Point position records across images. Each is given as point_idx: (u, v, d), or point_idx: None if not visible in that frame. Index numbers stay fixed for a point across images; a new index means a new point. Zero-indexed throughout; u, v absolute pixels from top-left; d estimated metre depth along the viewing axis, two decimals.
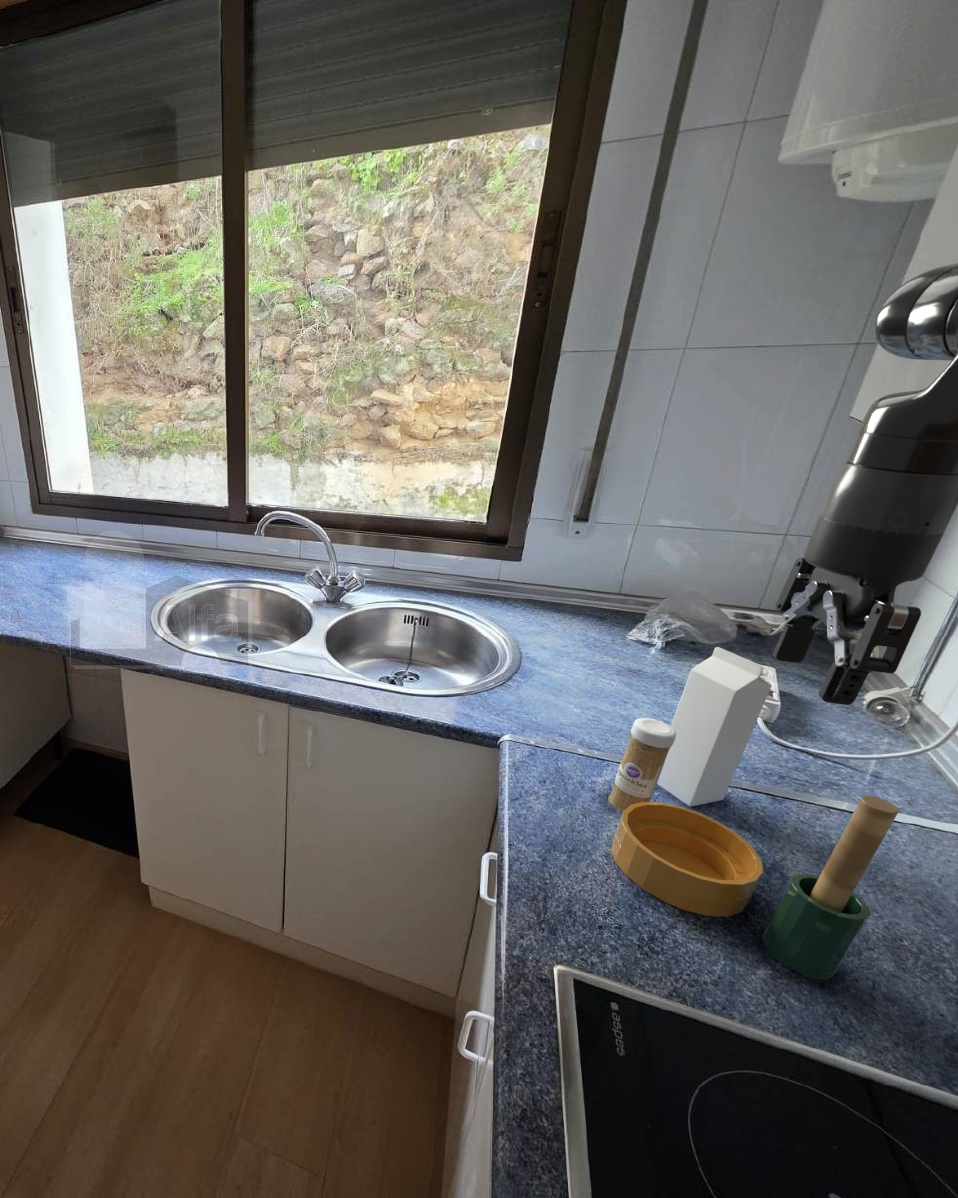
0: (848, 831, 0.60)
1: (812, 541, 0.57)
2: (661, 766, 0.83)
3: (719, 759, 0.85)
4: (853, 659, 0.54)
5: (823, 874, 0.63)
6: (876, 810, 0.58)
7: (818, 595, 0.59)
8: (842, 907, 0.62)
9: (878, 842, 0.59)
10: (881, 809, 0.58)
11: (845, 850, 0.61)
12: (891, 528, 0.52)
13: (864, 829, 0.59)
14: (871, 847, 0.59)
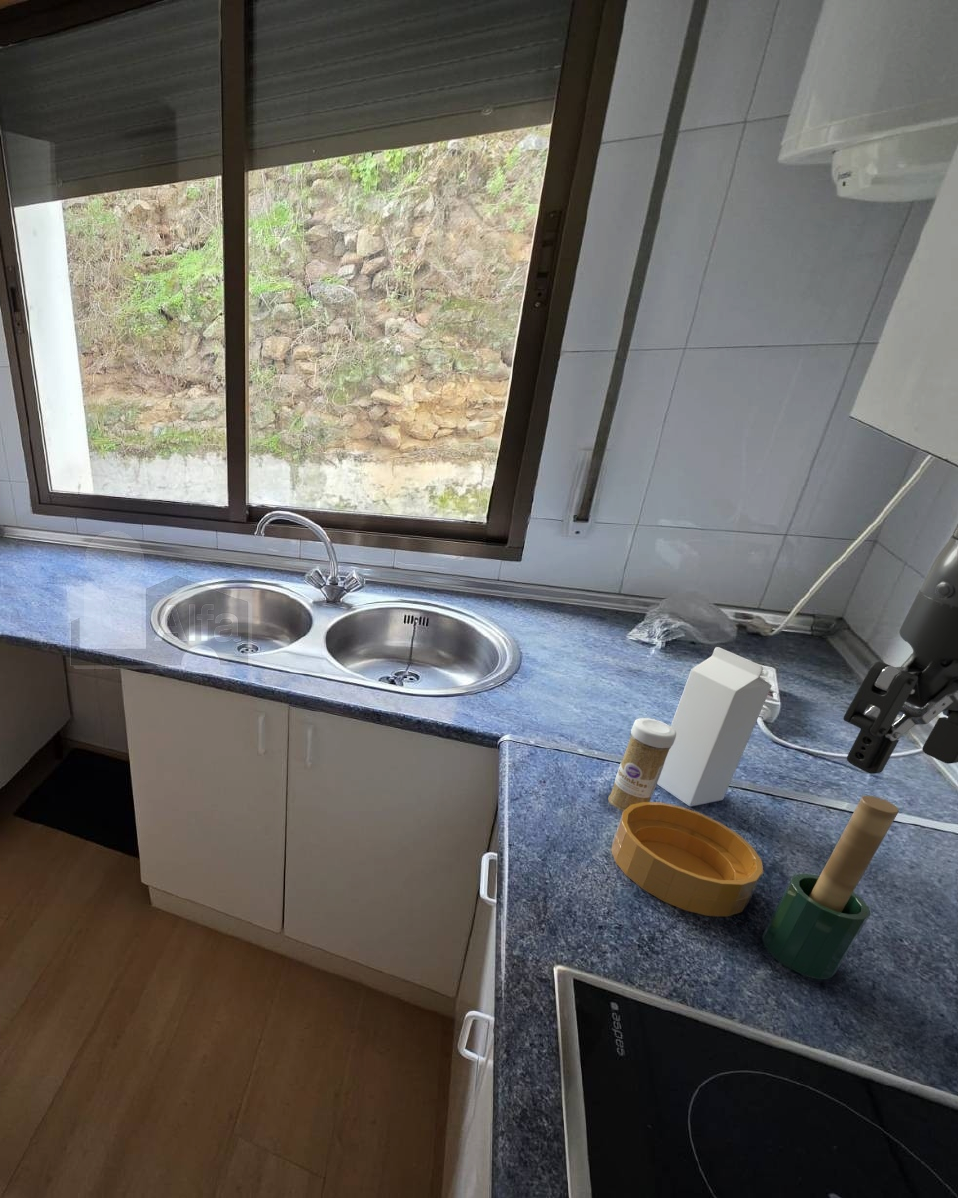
0: (848, 831, 0.60)
1: None
2: (661, 766, 0.83)
3: (719, 759, 0.85)
4: None
5: (823, 874, 0.63)
6: (876, 810, 0.58)
7: None
8: (842, 907, 0.62)
9: (878, 842, 0.59)
10: (881, 809, 0.58)
11: (845, 850, 0.61)
12: (937, 596, 0.51)
13: (864, 829, 0.59)
14: (871, 847, 0.59)
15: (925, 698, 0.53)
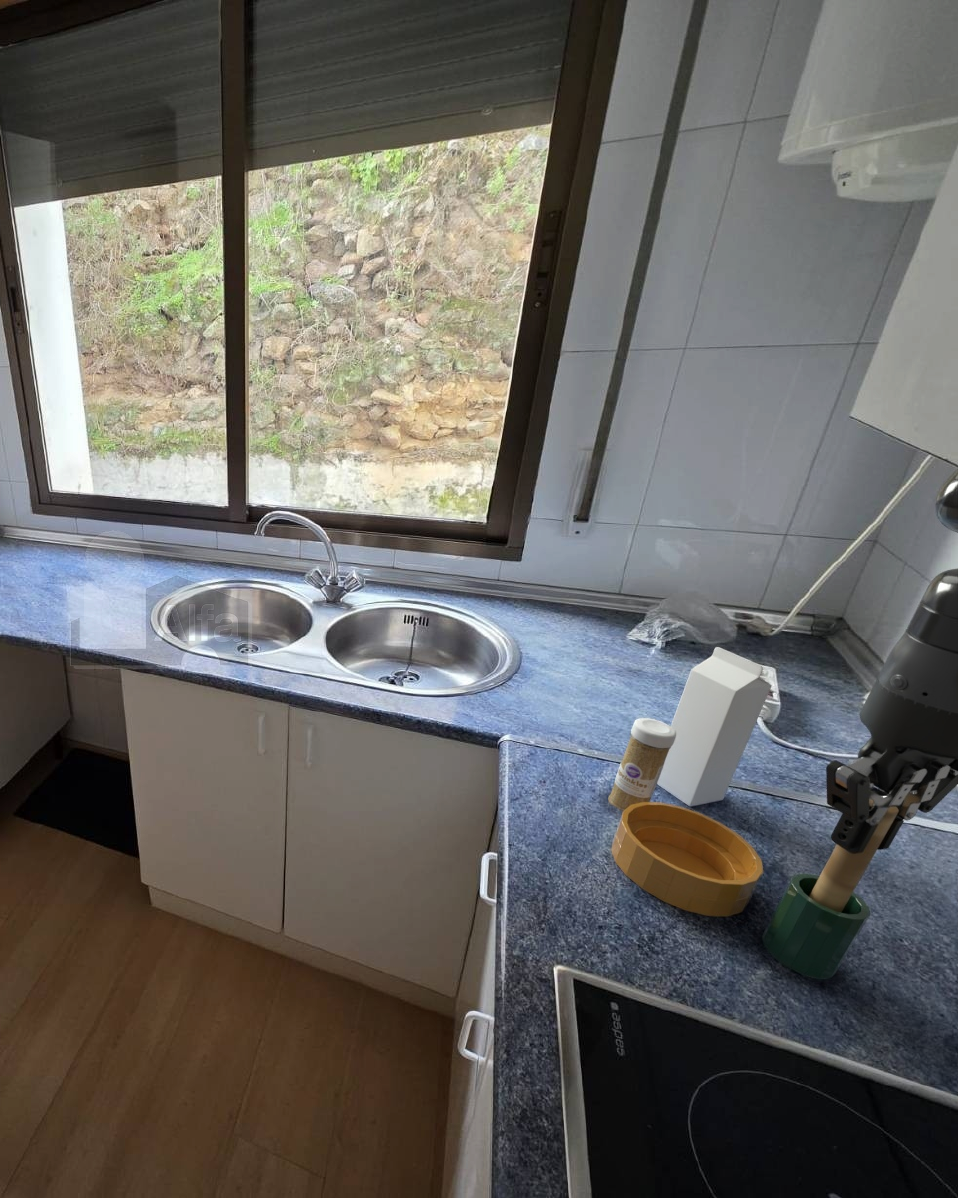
0: None
1: None
2: (661, 766, 0.83)
3: (719, 759, 0.85)
4: None
5: (823, 874, 0.63)
6: None
7: None
8: (842, 907, 0.62)
9: (878, 842, 0.59)
10: None
11: (845, 850, 0.61)
12: (892, 687, 0.54)
13: None
14: (871, 847, 0.59)
15: (883, 781, 0.56)
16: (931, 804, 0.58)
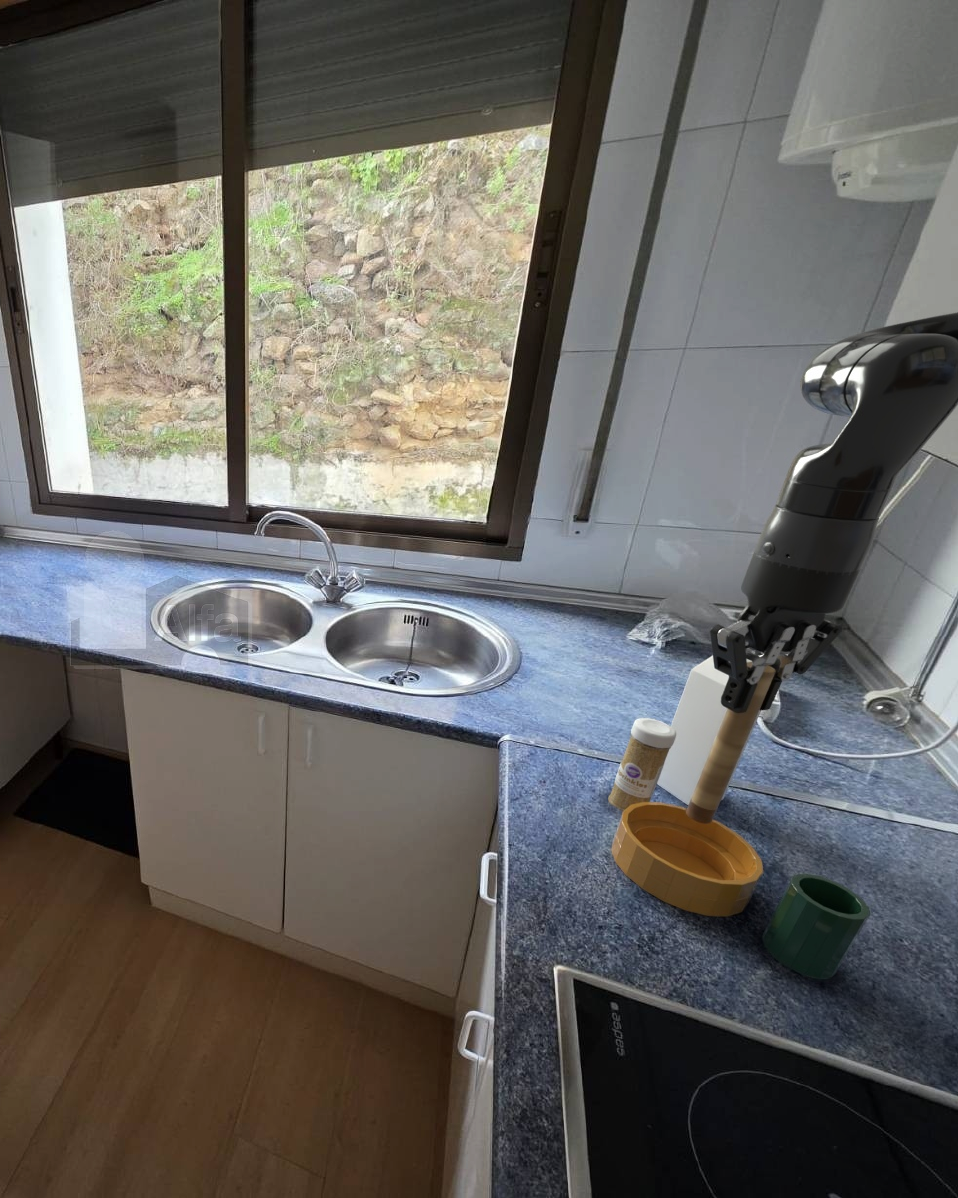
0: None
1: None
2: (661, 766, 0.83)
3: None
4: None
5: (716, 738, 0.70)
6: None
7: None
8: (732, 766, 0.69)
9: (759, 701, 0.66)
10: None
11: (733, 712, 0.68)
12: (763, 554, 0.61)
13: None
14: (753, 706, 0.66)
15: (758, 641, 0.63)
16: (805, 665, 0.65)
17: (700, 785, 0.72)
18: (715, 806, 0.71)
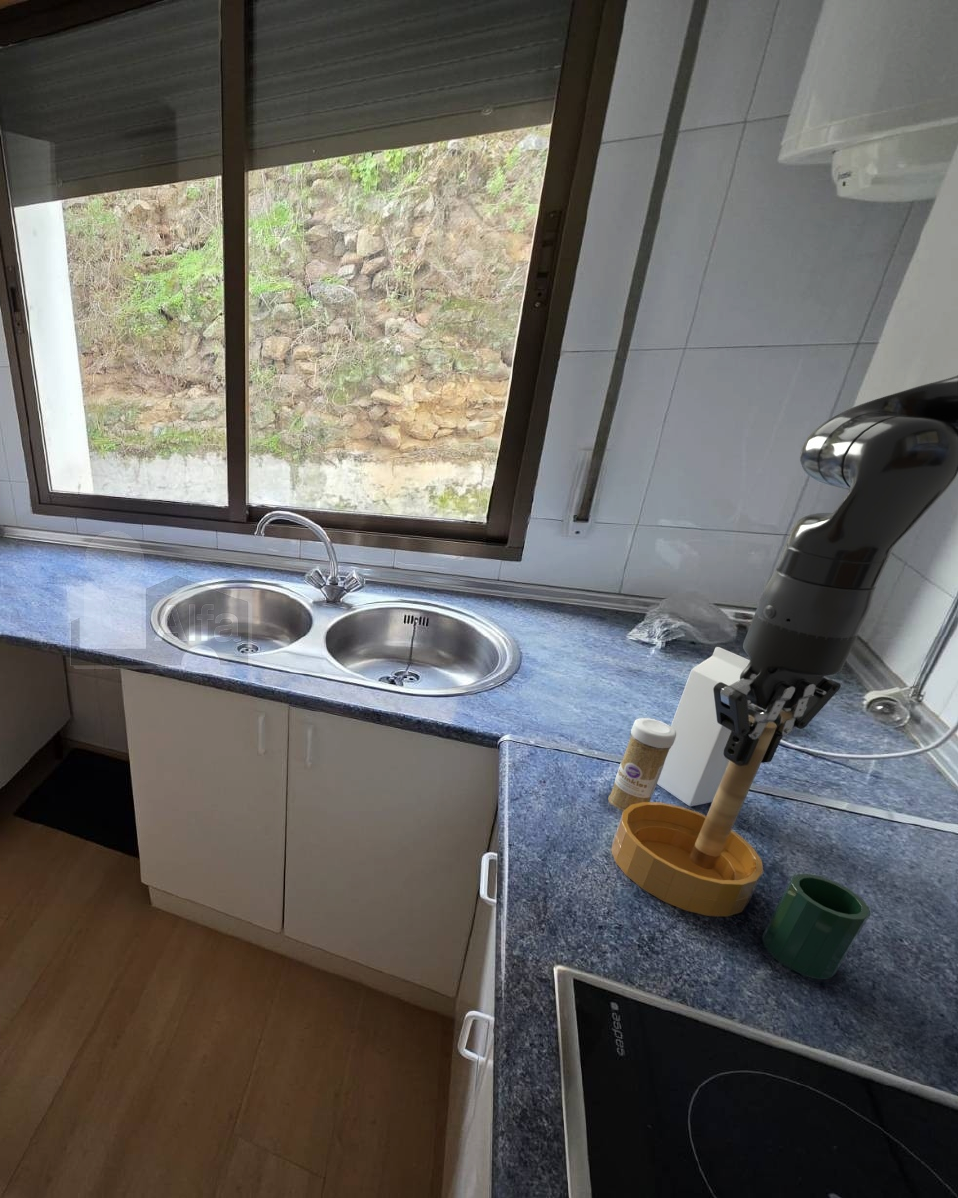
0: None
1: None
2: (661, 766, 0.83)
3: (719, 759, 0.85)
4: None
5: (719, 787, 0.72)
6: None
7: None
8: (735, 816, 0.71)
9: (761, 755, 0.68)
10: None
11: (735, 764, 0.70)
12: (764, 617, 0.64)
13: None
14: (755, 759, 0.68)
15: (760, 699, 0.65)
16: (805, 720, 0.67)
17: (704, 832, 0.74)
18: (718, 853, 0.74)
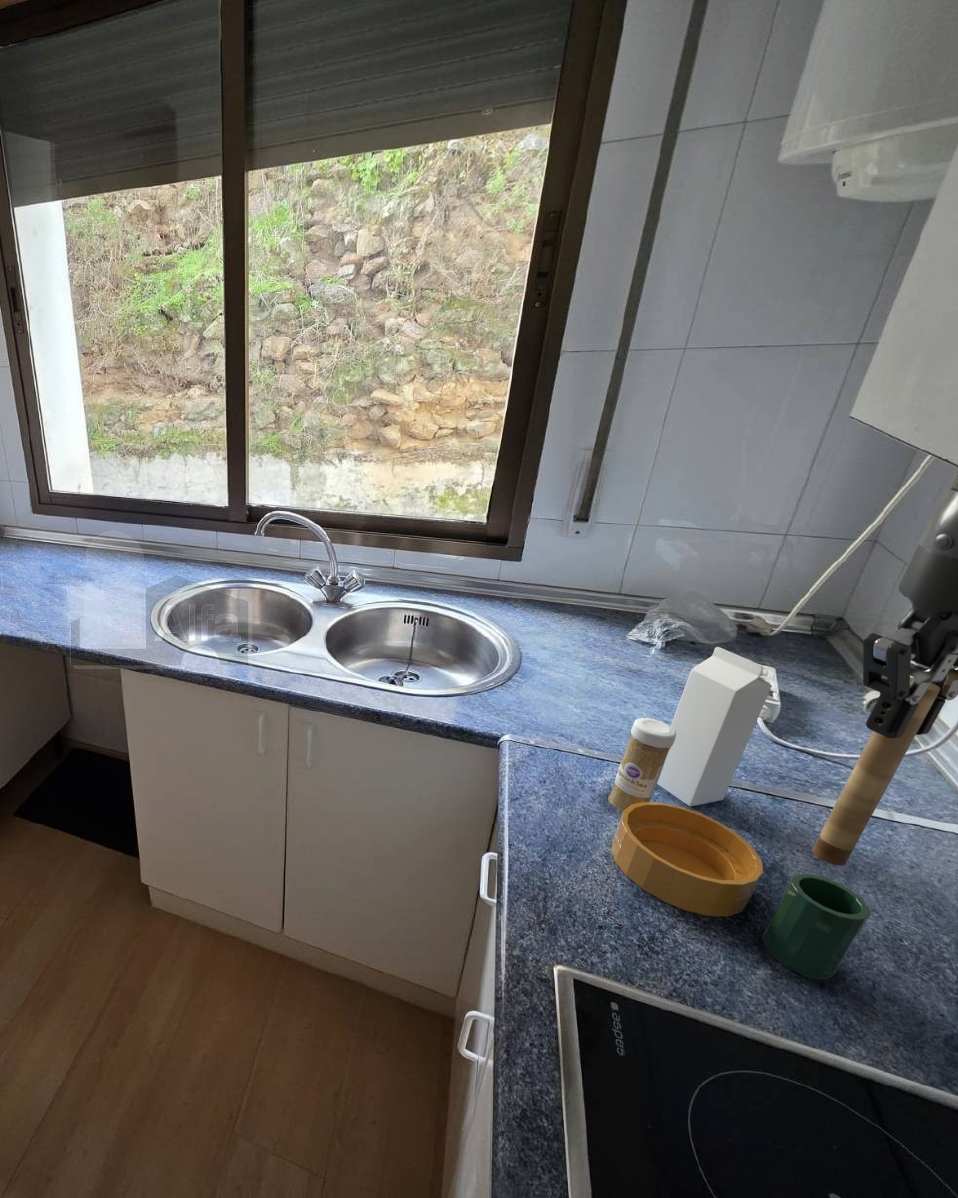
0: None
1: None
2: (661, 766, 0.83)
3: (719, 759, 0.85)
4: None
5: (857, 766, 0.59)
6: None
7: None
8: (877, 800, 0.59)
9: (918, 725, 0.55)
10: None
11: (881, 736, 0.57)
12: (936, 549, 0.51)
13: None
14: (910, 730, 0.56)
15: (924, 653, 0.53)
16: None
17: (834, 820, 0.61)
18: (852, 845, 0.61)
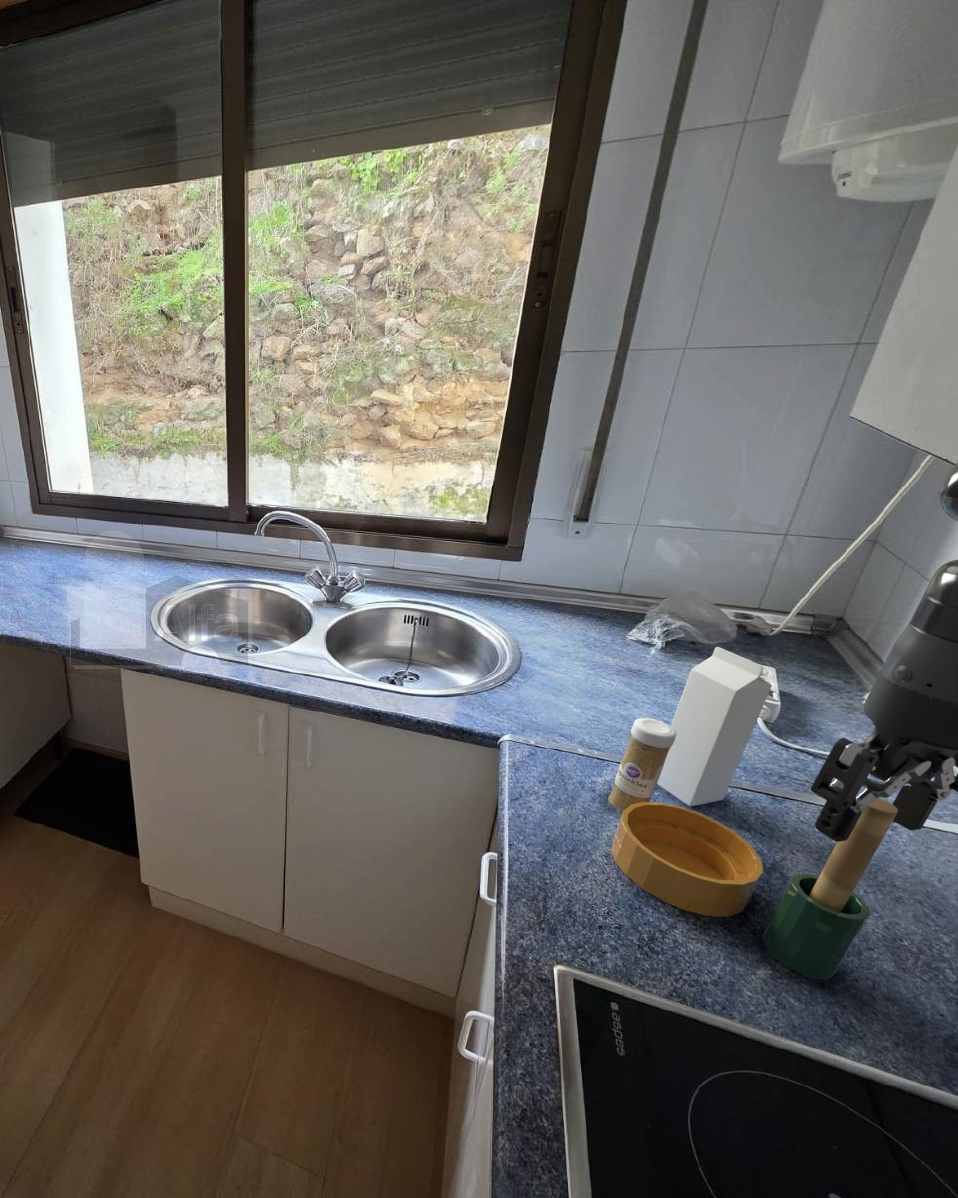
0: None
1: None
2: (661, 766, 0.83)
3: (719, 759, 0.85)
4: None
5: (823, 874, 0.63)
6: (876, 810, 0.58)
7: None
8: (842, 907, 0.62)
9: (878, 842, 0.59)
10: (881, 809, 0.58)
11: (845, 850, 0.61)
12: (896, 679, 0.54)
13: (863, 829, 0.59)
14: (871, 847, 0.59)
15: (887, 773, 0.56)
16: None
17: None
18: None
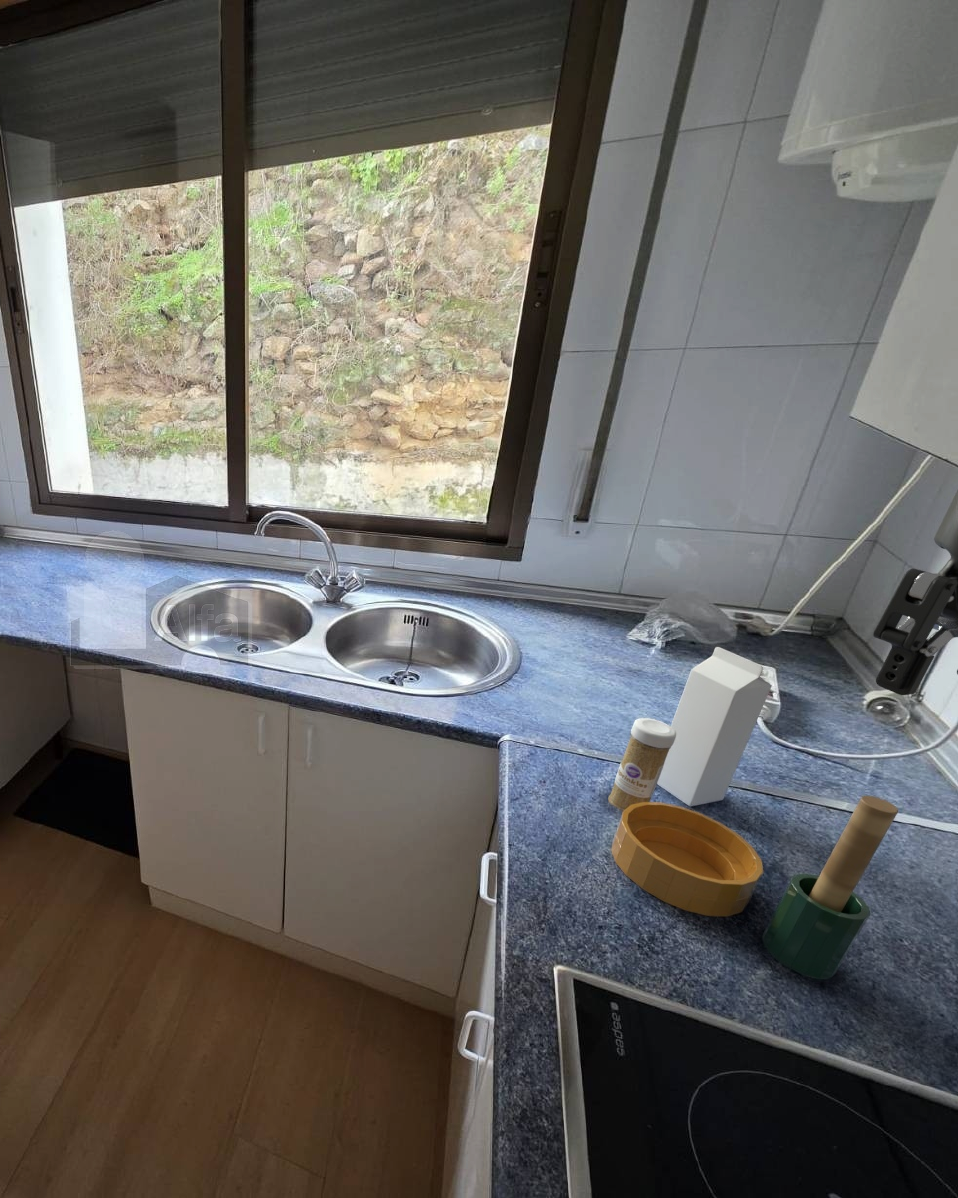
0: (848, 831, 0.60)
1: None
2: (661, 766, 0.83)
3: (719, 759, 0.85)
4: None
5: (823, 874, 0.63)
6: (876, 810, 0.58)
7: None
8: (842, 907, 0.62)
9: (878, 842, 0.59)
10: (881, 809, 0.58)
11: (845, 850, 0.61)
12: None
13: (863, 829, 0.59)
14: (871, 847, 0.59)
15: None
16: None
17: None
18: None
